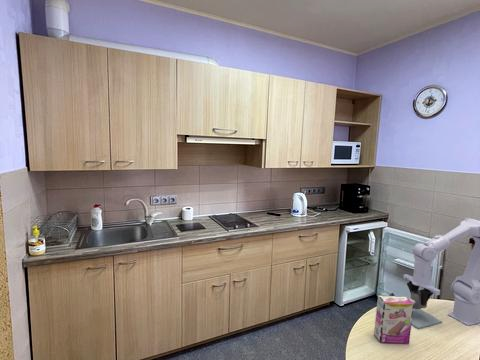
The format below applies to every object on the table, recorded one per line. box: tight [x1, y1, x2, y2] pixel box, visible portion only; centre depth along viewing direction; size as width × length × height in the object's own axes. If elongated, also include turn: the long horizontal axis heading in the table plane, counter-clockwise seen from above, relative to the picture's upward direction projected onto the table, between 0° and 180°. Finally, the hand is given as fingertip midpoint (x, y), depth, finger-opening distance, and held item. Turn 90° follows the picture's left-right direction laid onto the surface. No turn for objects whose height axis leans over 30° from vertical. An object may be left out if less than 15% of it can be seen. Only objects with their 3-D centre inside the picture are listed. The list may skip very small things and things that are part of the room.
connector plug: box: [408, 289, 428, 310], centre depth 108 cm, size 10×4×6 cm, turn 108°
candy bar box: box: [373, 295, 414, 345], centre depth 95 cm, size 11×5×16 cm, turn 89°
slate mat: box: [411, 308, 443, 331], centre depth 110 cm, size 14×11×1 cm
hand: (418, 302), depth 109 cm, fingers closed on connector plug, 4 cm apart
